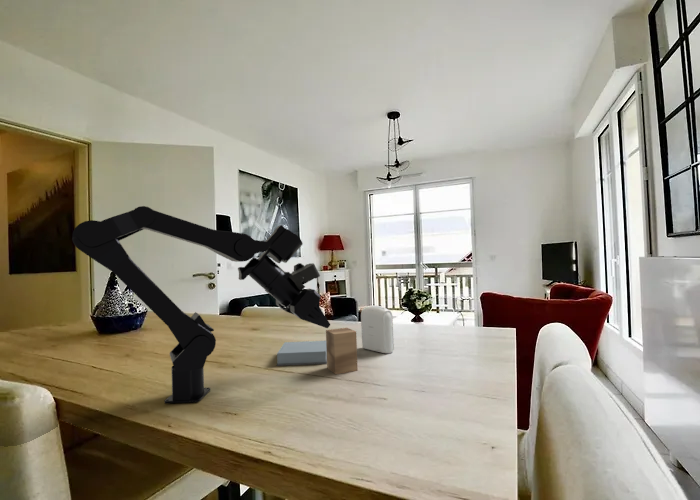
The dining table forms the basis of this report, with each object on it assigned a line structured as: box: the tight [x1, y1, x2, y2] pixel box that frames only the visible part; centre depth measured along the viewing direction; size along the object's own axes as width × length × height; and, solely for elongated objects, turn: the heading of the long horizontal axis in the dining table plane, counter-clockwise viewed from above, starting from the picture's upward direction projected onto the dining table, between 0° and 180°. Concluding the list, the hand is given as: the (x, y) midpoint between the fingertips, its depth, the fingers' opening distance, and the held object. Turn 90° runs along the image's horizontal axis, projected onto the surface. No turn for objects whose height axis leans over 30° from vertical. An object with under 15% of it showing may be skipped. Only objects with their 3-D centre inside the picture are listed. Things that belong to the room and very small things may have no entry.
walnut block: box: [325, 327, 359, 375], centre depth 86 cm, size 6×6×9 cm
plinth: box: [276, 340, 327, 367], centre depth 97 cm, size 12×12×3 cm
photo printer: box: [360, 305, 395, 354], centre depth 102 cm, size 10×4×12 cm, turn 39°
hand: (322, 323), depth 84 cm, fingers open, 9 cm apart
